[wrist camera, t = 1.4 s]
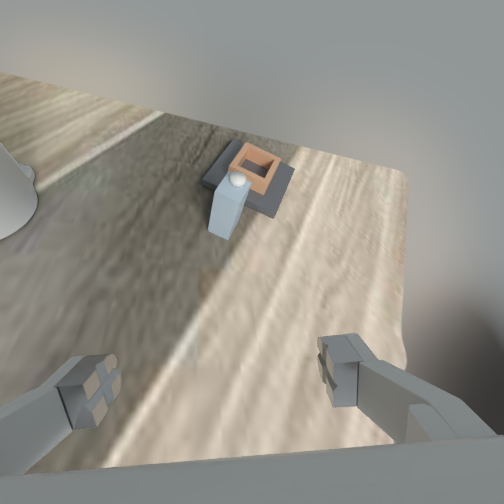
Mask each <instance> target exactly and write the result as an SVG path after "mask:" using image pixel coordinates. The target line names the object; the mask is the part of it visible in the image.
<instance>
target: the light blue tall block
mask: <svg viewBox="0 0 504 504" xmlns="http://www.w3.org/2000/svg"><path fill="white" fill-rule="evenodd" d="M251 183H252V182H250V181H248V180H246V176H245V175H244V174H243V173H242V172H239V171H234V172H232V173H231V172H229V171H228V173H227V174H226V176H225V177H224V179H223V180H222V181H221V183H220V184H219V186H218V187H217V189H216V190H215V193H214V198H213V204H212V210H211V215H210V221H209V227H208V231H209V232H211V233H214V234H216V235H218V236H220V237H222V238H224V239H226V240H228V239H229V238H230V236H231V234H232V232H233V230H234V228H235V226H236V225H237V223H238V221H239V218H240V215H241V212H242V209H243V206H244V203H245V200H246V198H247V195H248V192H249V189H250V186H251Z"/></svg>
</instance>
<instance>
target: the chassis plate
mask: <svg viewBox="0 0 504 504" xmlns="http://www.w3.org/2000/svg"><path fill="white" fill-rule="evenodd" d="M280 160H281V158H279V157H276V156H274V155H272V154H270V153H268V152H266V151H264V150H262V149H260V148H258V147H256V146H254V145H252V144H250V143H247V142H246V143H245V144H242V143H240V142H238V141H236V140H234V139H233V140H232V142H231V143H230V144H229V145H228V147H227V148H226V149H225V151H224V152H223V153H222V154H221V156H220V157H219V158H218V159H217V161H216V162H215V163H214V165H213V166H212V167H211V168H210V170H209V171H208V172H207V173H206V175H205V176H204V177H203V179H202V185H203V186H206V187H208V188H210V189H212V190H214V191H215V190H216V189H217V187H218V186H219V184H220V183H221V181H222V180H223V179H224V177H225V176H226V174H227V173H228V171H229V172H231V173H232V172H234V171H239V172H242V173H243V174H244V175H245V176H246V180H248V181H250V182H252V183H251V186H250V189H249V192H248V195H247V198H246V200H245V203H244V205H246V206H248V207H250V208H252V209H254V210H256V211H258V212H260V213H262V214H265V215H267V216H269V217H271V218H274V217H275V215H276V213H277V210H278V208H279V205H280V203H281V201H282V198H283V196H284V194H285V191H286V189H287V186H288V184H289V182H290V179H291V177H292V175H293V172H294V170H295V169H294V168H292V167H290V166H288V165H286V164H284V163H282V162H280Z"/></svg>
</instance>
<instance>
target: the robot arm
mask: <svg viewBox="0 0 504 504" xmlns="http://www.w3.org/2000/svg"><path fill="white" fill-rule="evenodd" d="M34 179H35V172H34V171H33V169H32V168H31V167H30V166H28V165H25V164H21V163H18V162H16V161H15V159H14V158H13V157H12V156H11V155H10V153H9V152H8V151H7V150H6V149H5V147H4V146H3V145H2V144H1V143H0V240H1V239H3V238H5V237H7V236H9V235H11V234H12V233H14V232H16V231H17V230H18V229H20V228H21V227H22V226H23V225H25V224H26V223H27V222H28V221H29V219H30V218H31V217H32V215H33V214H34V212H35V210H36V207H37V201H38V200H37V194H36V192H35V189H34V187H33V182H34ZM317 346H318V349H319V351H320V353H319V354H318V367H319V372H320V376H321V379H322V381H323V382H324V383H325V384H326V389H327V394H328V396H329V399H330V401H331V404H332V406H333V407H351V406H357V408H359V409H360V410H361V411H362V412H363V413H364V414H365V415H366V416H368V417H369V418H370V419H371V420H372V421H373V422H374V423H375V424H377V425H378V426H379V427H380V428H381V429H382V430H383V431H384V432H386V433H387V434H388V435H389V436H390V437H391V438H392V439H393V440H395V441H396V442H397V443H398V444H387V445H375V446H363V447H352V448H340V449H328V450H317V451H305V452H292V453H280V454H268V455H255V456H243V457H231V458H219V459H207V460H195V461H183V462H171V463H159V464H147V465H135V466H123V467H111V468H99V469H87V470H75V471H63V472H51V473H39V474H27V475H22V474H23V473H25V472H26V471H27V470H28V469H29V468H30V467H32V466H33V465H34V464H35V463H36V462H37V461H39V460H40V459H41V458H42V457H43V456H44V455H45V454H47V453H48V452H49V451H50V450H51V449H52V448H54V447H55V446H56V445H57V444H58V443H59V442H60V441H62V440H63V439H64V438H65V437H66V436H67V435H69V434H70V433H71V432H72V430H76V429H85V428H94V427H97V426H98V425H99V423H100V421H101V420H102V418H103V417H104V415H105V414H106V412H107V411H108V407H107V405H108V404H109V403H110V402H112V401H113V400H114V399H115V398H116V396H117V395H118V393H119V390H120V387H121V375H120V372H119V371H118V370H117V369H115V366H116V364H117V360H116V357H115V356H114V355H112V354H104V355H88V356H75V357H72V358H70V359H69V360H68V361H67V362H66V363H65V364H64V365H62V366H61V367H60V368H59V369H58V370H57V371H56V372H55V373H54V374H53V375H52V376H51V377H50V378H49V379H47V380H46V381H45V382H44V383H43V384H42V385H41V386H40V387H39V388H38V389H33V390H31V391H29V392H27V393H25V394H23V395H22V396H20V397H18V398H16V399H14V400H12V401H10V402H8V403H7V404H5V405H3V406H1V407H0V504H504V435H497V434H496V433H494V431H493V430H492V429H490V427H488V426H487V425H486V424H485V423H484V422H483V421H482V420H481V419H480V418H479V417H478V416H477V415H476V414H475V413H474V412H473V411H472V410H471V409H470V408H469V407H468V406H467V405H466V404H465V403H464V402H463V401H462V400H461V399H459V398H457V397H455V396H453V395H451V394H449V393H447V392H445V391H443V390H441V389H439V388H437V387H435V386H433V385H431V384H429V383H427V382H425V381H423V380H421V379H419V378H417V377H415V376H413V375H411V374H409V373H407V372H405V371H403V370H402V369H400V368H398V367H396V366H394V365H392V364H390V363H388V362H386V361H384V360H378V359H377V358H376V356H375V355H374V354H373V353H372V351H371V350H370V349H369V347H368V346H367V345H366V344H365V342H364V341H363V340H362V339H361V337H360V336H359V335H358V334H357V333H349V334H343V335H333V336H323V337H318V340H317Z"/></svg>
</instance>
